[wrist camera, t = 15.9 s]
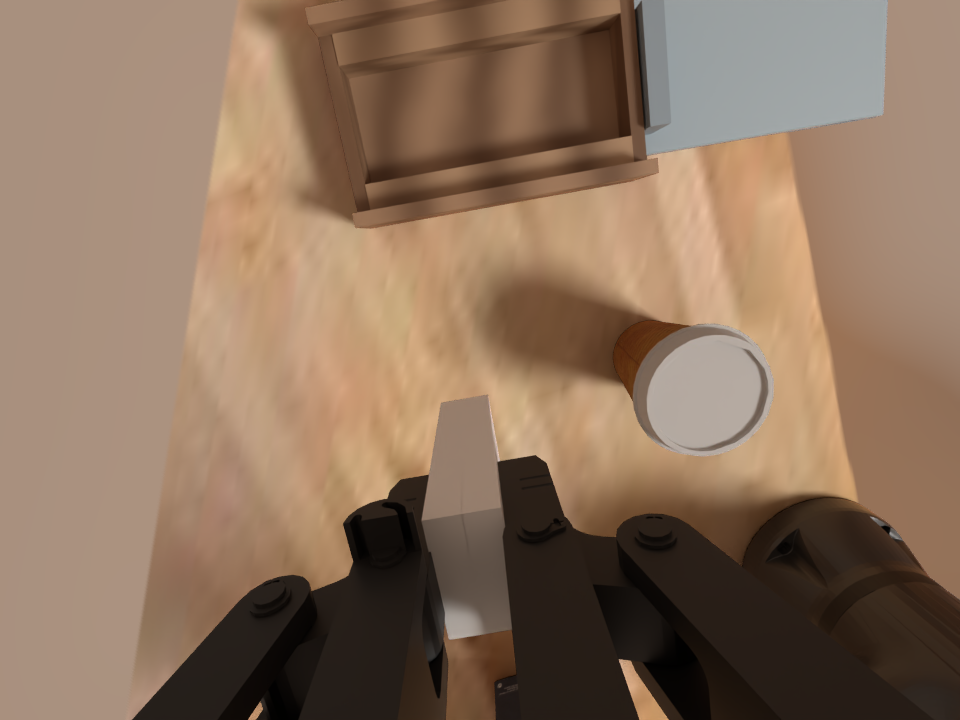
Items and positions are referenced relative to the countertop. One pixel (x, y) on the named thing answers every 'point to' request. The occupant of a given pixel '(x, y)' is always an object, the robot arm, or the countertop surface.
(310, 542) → the countertop surface
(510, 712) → the small box
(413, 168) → the box body
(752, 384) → the disposable coffee cup
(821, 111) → the cover plate
